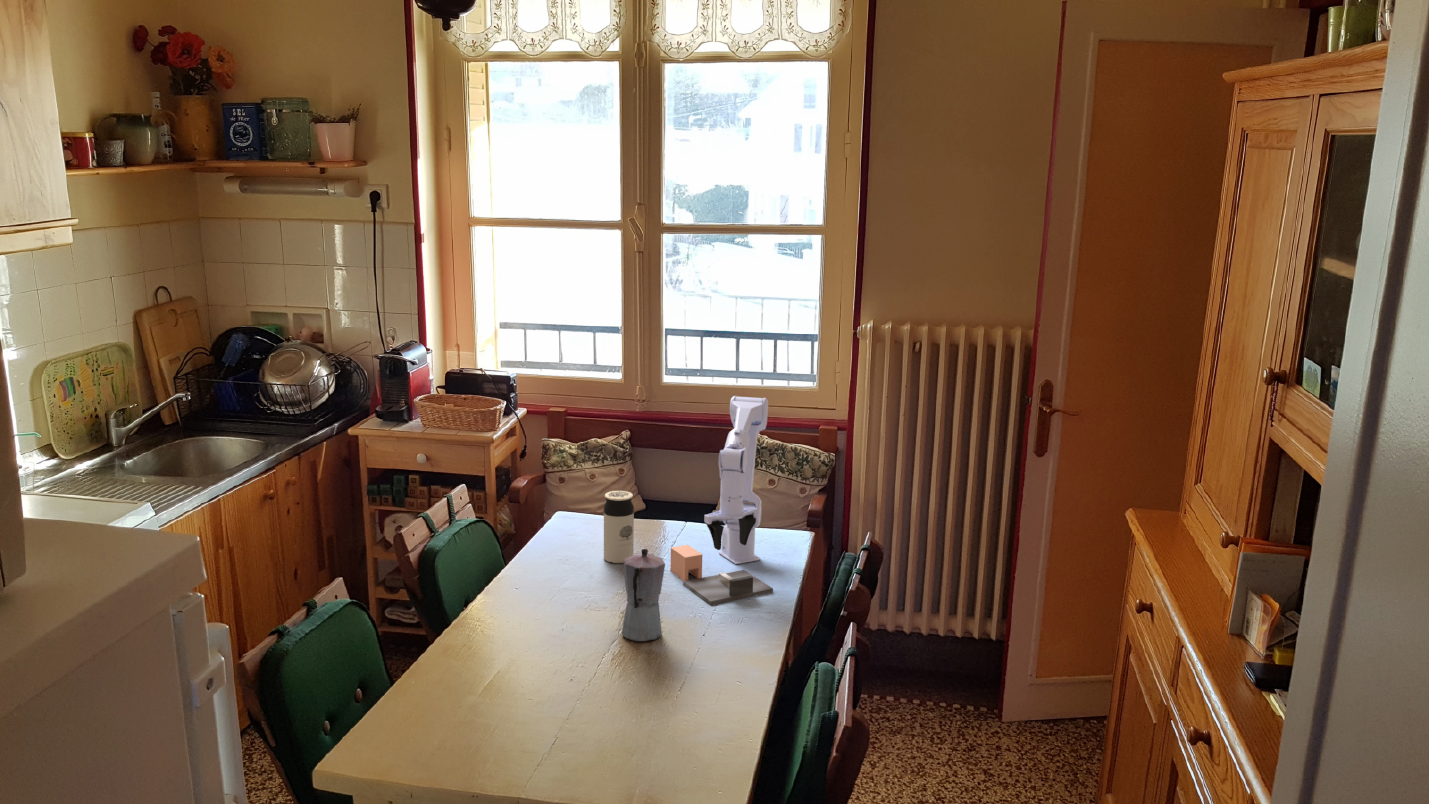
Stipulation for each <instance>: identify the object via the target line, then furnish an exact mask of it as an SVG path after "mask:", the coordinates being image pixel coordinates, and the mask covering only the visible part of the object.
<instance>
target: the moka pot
mask: <svg viewBox="0 0 1429 804" xmlns="http://www.w3.org/2000/svg"><path fill="white" fill-rule="evenodd" d="M640 552H641V554H633V555H632V556H630V557H627V558H625V559H624V560H623V563H622V564H623V573H624V574H623V575H624V583H625V584H624V585H625V592H626V601H627V603H626V607H625V611H624V612H625V613H624V617H623V624H622V629H621V634H622V636H623V637H624V638H626V639H628V640H631V641H635V642H648V641H649V642H650V641H654V640H657V639H659V638H660V637H661V635H662V622H661V621H662V620H661V613H660V604H659V600H660V595H661V593H662V587H663V580H664V575H665V568H666V563H665V561H664V559H663V557H660V556H655V555H654V553H648V552H649V550H648V549H646V548H642V549H641V551H640Z"/></svg>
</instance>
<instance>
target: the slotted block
mask: <svg viewBox="0 0 1429 804" xmlns="http://www.w3.org/2000/svg"><path fill="white" fill-rule="evenodd" d="M669 571H670V572H671V573H672V574H674V575H675V576H676V577H678V578H680V579H681V580H682V581H688V580H689V574H691V575H693V576H694V577H695V579H698V578H703V554H702V553H701V552H699V550H696V549H695V548H693V547H692V546H690V545H689V544H685V545H678V546H673V547H670V570H669Z"/></svg>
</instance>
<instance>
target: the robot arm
mask: <svg viewBox="0 0 1429 804" xmlns="http://www.w3.org/2000/svg"><path fill="white" fill-rule="evenodd" d="M768 414H769V400H768V399H767V397H750V396H749V397H748V396H737V395H733V396H732V397H731V398H730V403H729V415H730V416H729V418H730V421H731V423H732V427H733V429H732V430H730V431H729V432H728V434H727V437H726V441H725V444H724V448H723V449H720V450H719V454H718V471H719V478H720V498H719V499H720V501H719V503H720V504H719V510H717V511H713V512H711V513H708V514H704V518H703V519H704V523H705V525H706V527H707V529H708V530H709V533H710V536H711V538H712V543H713V547H714V549H716V551H718V554H719V555H721V556H722V557H724V558H725V559H727V560H729V561H730V562H731V563H733V564H735V565H740V564H746V563H751V562H756V561H760V560H761V557H760V556H758V555H757V554H755V546H756V545H755V542H756V541H755V540H756V539H755V538H756V528H758V527H759V526H760V525H761V521H762V499H761V498H760V496H758V495H757V494H756V493H755V492H754V491H753V489H754V488H753V486H754V476H755V468H756V467H755V466H756V457H757V456H756V454H757V445H758V444H757V442H758V437H759V435H760V432H762V431H764V430H766V428H767V424H768V417H769V415H768ZM722 522H723V523H724V525H722Z"/></svg>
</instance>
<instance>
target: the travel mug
mask: <svg viewBox="0 0 1429 804" xmlns="http://www.w3.org/2000/svg"><path fill="white" fill-rule="evenodd" d="M633 497H634V495H633V492H630V491H627V490H612V491H608V492H606V493H605V494H604V498H605V501H606V502H605V504H604V506H603V559H604V561H607V562H608V563H611V562H612V564H623V560H624V559H625V558H627V557H630V556H632V555H634V546H635V545H634V542H635V541H634V535H635V533H634V532H635V529H634V528H635V527H634V526H635V525H634V522H635V521H634V520H635V517H634V516H635V515H634V514H635V506H634V504H633V502H632V499H633Z"/></svg>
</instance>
